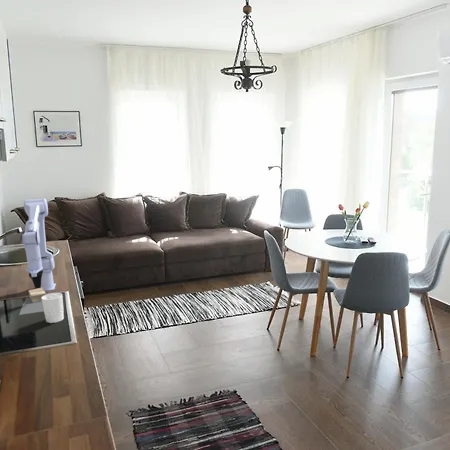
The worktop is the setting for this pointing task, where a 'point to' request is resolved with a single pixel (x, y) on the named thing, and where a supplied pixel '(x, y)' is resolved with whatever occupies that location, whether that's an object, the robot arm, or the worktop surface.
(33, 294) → the birch slab
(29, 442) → the worktop surface
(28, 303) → the rubber mat
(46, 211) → the robot arm
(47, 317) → the white cup
